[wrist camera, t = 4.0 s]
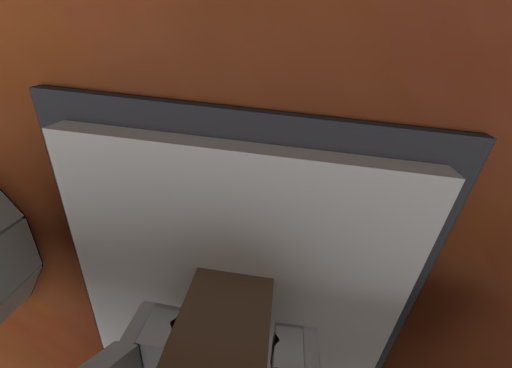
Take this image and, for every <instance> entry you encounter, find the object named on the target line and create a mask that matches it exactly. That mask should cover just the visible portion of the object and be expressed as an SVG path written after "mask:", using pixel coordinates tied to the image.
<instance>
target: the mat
mask: <svg viewBox="0 0 512 368" xmlns="http://www.w3.org/2000/svg"><path fill="white" fill-rule="evenodd" d="M29 90H30V93H31V97H32V100H33V104H34V107H35V111H36V114H37V118H38V121H39V125H40V128H41V132H42V135H43V139H44V143H45V146H46V150H47V153H48V157H49V160H50V164H51V167H52V171H53V174H54V178H55V181H56V177H55V173H54V170H53V166H52V163H51V159H50V156H49V152H48V149H47V145H46V141H45V138H44V134H43V131H42V128H44V127H46V126H49V125H52V124H54V123H57V122H60V121H63V120H69V121H77V122H86V123H94V124H103V125H111V126H120V127H128V128H137V129H145V130H154V131H162V132H171V133H179V134H188V135H196V136H205V137H213V138H222V139H230V140H238V141H247V142H255V143H264V144H272V145H281V146H289V147H298V148H306V149H315V150H323V151H332V152H340V153H349V154H357V155H366V156H374V157H383V158H391V159H400V160H408V161H417V162H425V163H434V164H442V165H449V166H450V167H452V168H453V169H454V170H455V171H456V172H458V173H459V174H460V175H461V176H462V177H464V178H465V182H464V184H463V186H462V188H461V190H460V192H459V194H458V196H457V198H456V200H455V202H454V204H453V206H452V209H451V211H450V213H449V215H448V217H447V219H446V221H445V223H444V225H443V227H442V229H441V231H440V233H439V235H438V238H437V240H436V242H435V244H434V246H433V248H432V250H431V252H430V254H429V256H428V258H427V260H426V262H425V264H424V267H423V269H422V271H421V273H420V275H419V277H418V279H417V281H416V283H415V285H414V287H413V289H412V291H411V293H410V296H409V298H408V300H407V302H406V304H405V306H404V308H403V310H402V312H401V314H400V316H399V318H398V320H397V322H396V325H395V327H394V329H393V331H392V333H391V335H390V337H389V339H388V341H387V343H386V345H385V347H384V349H383V352H382V354H381V356H380V358H379V360H378V362H377V364H376V366H375V368H382V366H383V364H384V362H385V360H386V358H387V356H388V354H389V352H390V350H391V348H392V346H393V344H394V342H395V340H396V338H397V336H398V334H399V332H400V330H401V328H402V326H403V324H404V322H405V320H406V318H407V316H408V314H409V312H410V310H411V308H412V306H413V304H414V303H415V301H416V299H417V297H418V295H419V293H420V291H421V289H422V287H423V285H424V283H425V281H426V279H427V277H428V275H429V273H430V271H431V269H432V267H433V265H434V263H435V261H436V259H437V257H438V255H439V253H440V251H441V249H442V247H443V245H444V243H445V241H446V239H447V237H448V235H449V233H450V231H451V229H452V227H453V225H454V223H455V221H456V219H457V217H458V215H459V213H460V211H461V209H462V207H463V205H464V203H465V201H466V199H467V197H468V195H469V193H470V191H471V189H472V187H473V185H474V183H475V181H476V179H477V177H478V175H479V173H480V171H481V169H482V167H483V165H484V163H485V161H486V159H487V157H488V155H489V153H490V151H491V149H492V147H493V145H494V143H495V141H496V138H494V137H492V136H490V135H488V134H482V133H473V132H464V131H455V130H446V129H437V128H427V127H418V126H409V125H400V124H391V123H382V122H373V121H364V120H355V119H346V118H337V117H327V116H318V115H309V114H300V113H291V112H282V111H273V110H264V109H255V108H246V107H237V106H227V105H218V104H209V103H200V102H191V101H182V100H173V99H164V98H155V97H146V96H136V95H127V94H118V93H109V92H100V91H91V90H82V89H73V88H64V87H55V86H46V85H38V86H33V87H29ZM56 185H57V188H58V184H57V181H56ZM58 192H59V195H60V191H59V188H58ZM60 199H61V202H62V198H61V195H60ZM62 206H63V209H64V205H63V202H62ZM64 213H65V209H64ZM65 217H66V220H67V216H66V213H65ZM67 224H68V227H69V223H68V220H67ZM69 231H70V234H71V230H70V227H69ZM71 238H72V241H73V237H72V234H71ZM73 245H74V248H75V244H74V241H73ZM75 252H76V248H75ZM76 255H77V252H76ZM77 259H78V255H77ZM78 262H79V259H78ZM79 266H80V262H79ZM80 269H81V266H80ZM81 273H82V269H81ZM82 276H83V273H82ZM83 280H84V276H83ZM84 283H85V280H84ZM85 287H86V284H85ZM86 291H87V287H86ZM87 294H88V291H87ZM88 298H89V294H88ZM89 301H90V298H89ZM90 305H91V301H90ZM91 308H92V305H91ZM92 312H93V308H92ZM93 315H94V312H93ZM94 319H95V316H94ZM95 322H96V319H95ZM96 326H97V323H96ZM97 329H98V326H97ZM98 333H99V330H98ZM99 336H100V333H99ZM100 340H101V337H100ZM101 343H102V340H101ZM102 347H103V344H102ZM103 349H104V347H103Z"/></svg>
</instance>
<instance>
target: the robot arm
mask: <svg viewBox="0 0 512 368" xmlns="http://www.w3.org/2000/svg"><path fill="white" fill-rule="evenodd" d="M180 309H181V307H177V306H171V305H165V304H160V303H155V302H148V301H143V302H142V303H141V304H140V306H139V308H138V309H137V311H136V313H135V314H134V316H133V318H132V320H131V321H130V323H129V325H128V327H127V328H126V330H125V332H124V334H123V335H122V337H121V339H120V341H114V342H113V343H111V344H110V345H108V346H107V347H106V348H104V349H103V350H101V351H100V352H99V353H97V354H96V355H94V356H93V357H92V358H90V359H89V360H87V361H86V362H84V363H83V364H82V365H80V366H79V367H77V368H156V366H157V364H158V362H159V359H160V357H161V354H162V352H163V350H164V347H165V345H166V342H167V340H168V338H169V335H170V333H171V330H172V328H173V325H174V323H175V321H176V318H177V316H178V313H179V311H180ZM270 364H271V368H321V367H320V355H319V343H318V332H317V329H316V328H311V327H304V326H301V325H293V324H286V323H279V322H276V323H275V328H274V336H273V340H272V347H271V357H270Z"/></svg>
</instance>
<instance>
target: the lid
mask: <svg viewBox="0 0 512 368" xmlns="http://www.w3.org/2000/svg"><path fill="white" fill-rule="evenodd" d="M42 131H43V134H44V138H45V141H46V145H47V149H48V152H49V156H50V159H51V163H52V166H53V170H54V173H55V177H56V181H57V184H58V188H59V191H60V195H61V198H62V202H63V205H64V209H65V213H66V216H67V220H68V223H69V227H70V230H71V234H72V237H73V241H74V244H75V248H76V252H77V255H78V259H79V262H80V266H81V269H82V273H83V276H84V280H85V284H86V287H87V291H88V294H89V298H90V301H91V305H92V308H93V312H94V316H95V319H96V323H97V326H98V330H99V333H100V337H101V340H102V344H103V347H104V348H106V347H107V346H108V345H110V344H111V343H113V342H114V341H120V339H121V337H122V335H123V334H124V332H125V330H126V328H127V327H128V325H129V323H130V321H131V320H132V318H133V316H134V314H135V313H136V311H137V309H138V308H139V306H140V304H141V303H142V302H143V301H148V302H155V303H160V304H165V305H171V306H177V307H181V309H180V311H179V313H178V316H177V318H176V321H175V323H174V325H173V328H172V330H171V333H170V335H169V338H168V340H167V342H166V345H165V347H164V350H163V352H162V354H161V357H160V359H159V362H158V364H157V366H156V368H271V364H270V357H271V347H272V340H273V336H274V328H275V323H276V322H279V323H286V324H293V325H301V326H304V327H311V328H316V329H317V332H318V343H319V355H320V367H321V368H375V366H376V364H377V362H378V360H379V358H380V356H381V354H382V352H383V349H384V347H385V345H386V343H387V341H388V339H389V337H390V335H391V333H392V331H393V329H394V327H395V325H396V322H397V320H398V318H399V316H400V314H401V312H402V310H403V308H404V306H405V304H406V302H407V300H408V298H409V296H410V293H411V291H412V289H413V287H414V285H415V283H416V281H417V279H418V277H419V275H420V273H421V271H422V269H423V267H424V264H425V262H426V260H427V258H428V256H429V254H430V252H431V250H432V248H433V246H434V244H435V242H436V240H437V238H438V235H439V233H440V231H441V229H442V227H443V225H444V223H445V221H446V219H447V217H448V215H449V213H450V211H451V209H452V206H453V204H454V202H455V200H456V198H457V196H458V194H459V192H460V190H461V188H462V186H463V184H464V182H465V178H464V177H462V176H461V175H460V174H459V173H458V172H456V171H455V170H454V169H453V168H452V167H450V166H449V165H442V164H434V163H425V162H417V161H408V160H400V159H391V158H383V157H374V156H366V155H357V154H349V153H340V152H332V151H323V150H315V149H306V148H298V147H289V146H281V145H272V144H264V143H255V142H247V141H238V140H230V139H222V138H213V137H205V136H196V135H188V134H179V133H171V132H162V131H154V130H145V129H137V128H128V127H120V126H111V125H103V124H94V123H86V122H77V121H69V120H63V121H60V122H57V123H54V124H52V125H49V126H46V127H44V128H42Z"/></svg>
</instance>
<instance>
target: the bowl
mask: <svg viewBox="0 0 512 368" xmlns="http://www.w3.org/2000/svg"><path fill="white" fill-rule="evenodd" d="M23 216H24V215H23V214H22V213H21V212H20V211H19V210H18V209H17V208H16V207H15V205H14V204H13V203H12V202H11V201H10V200H9V199H8V198H7V197H6V196H5V195H4V194H3V193H2V192H1V190H0V325H1V324H2V323H3V322H4V321H5V320H6V319H7V318H8V317H9V316H10V315H11V314H12V313H13V312H14V311H15V310H16V309H17V308H18V307H19V306H20V305H21V304H22V303H23V302H24V301H25V300H26V299H27V298H28V297H29V296H30V295H31V293H32V291H33V288H34V286H35V283H36V281H37V278H38V276H39V274H40V271H41V269H42V261H41V259H40V256H39V253H38V250H37V248H36V245H35V242H34V239H33V237H32V234H31V231H30V228H29V226H28V223H27V220H26V218H22V217H23Z"/></svg>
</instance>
